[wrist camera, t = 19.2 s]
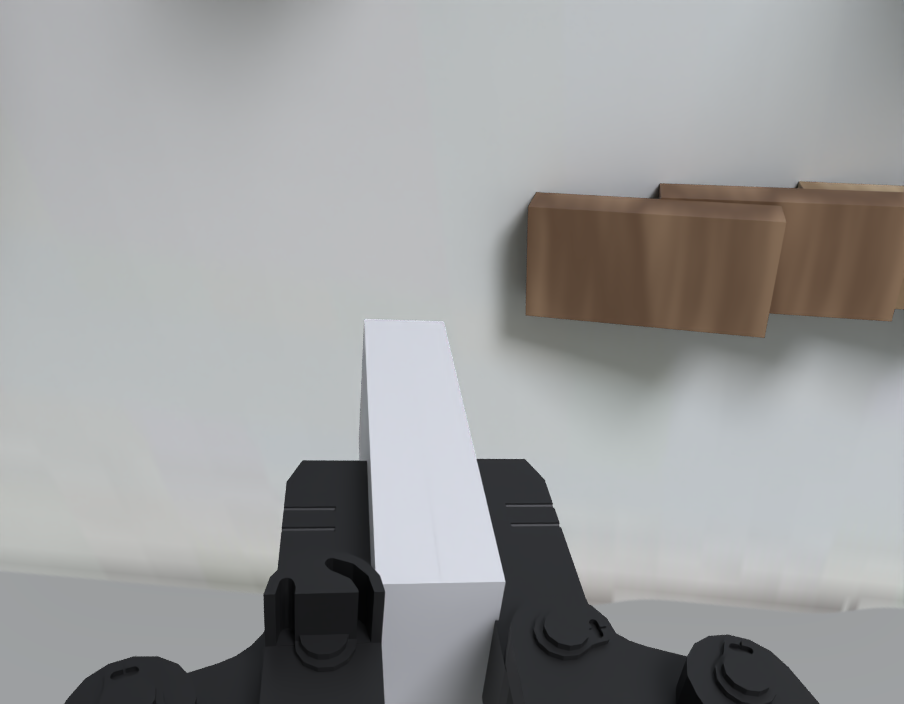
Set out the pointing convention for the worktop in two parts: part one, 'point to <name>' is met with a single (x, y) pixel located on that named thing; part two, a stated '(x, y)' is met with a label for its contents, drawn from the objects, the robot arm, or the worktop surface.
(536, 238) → the domino
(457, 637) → the robot arm
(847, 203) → the domino
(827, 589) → the worktop surface
